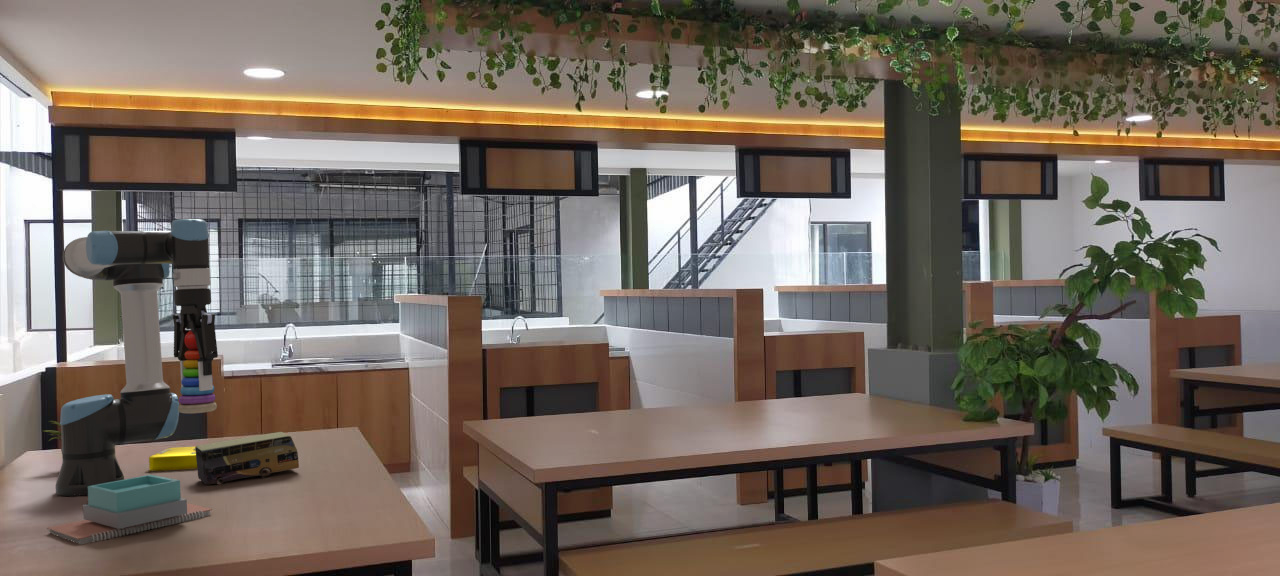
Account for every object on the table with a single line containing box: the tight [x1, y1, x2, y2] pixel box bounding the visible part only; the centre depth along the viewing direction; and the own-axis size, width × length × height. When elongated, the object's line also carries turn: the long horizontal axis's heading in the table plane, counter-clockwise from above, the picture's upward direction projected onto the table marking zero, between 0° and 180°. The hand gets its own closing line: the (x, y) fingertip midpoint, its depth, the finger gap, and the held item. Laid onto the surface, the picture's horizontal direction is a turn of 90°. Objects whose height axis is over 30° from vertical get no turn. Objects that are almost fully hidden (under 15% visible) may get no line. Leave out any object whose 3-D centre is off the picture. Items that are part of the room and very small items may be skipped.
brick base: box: [82, 474, 188, 529], centre depth 201 cm, size 16×14×7 cm
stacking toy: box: [178, 330, 218, 415], centre depth 215 cm, size 8×8×19 cm
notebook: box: [46, 502, 213, 545], centre depth 203 cm, size 27×17×2 cm, turn 141°
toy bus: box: [194, 431, 300, 486], centre depth 250 cm, size 10×23×10 cm, turn 124°
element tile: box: [148, 446, 197, 472], centre depth 271 cm, size 15×15×5 cm
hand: (196, 389), depth 215 cm, fingers closed on stacking toy, 7 cm apart
